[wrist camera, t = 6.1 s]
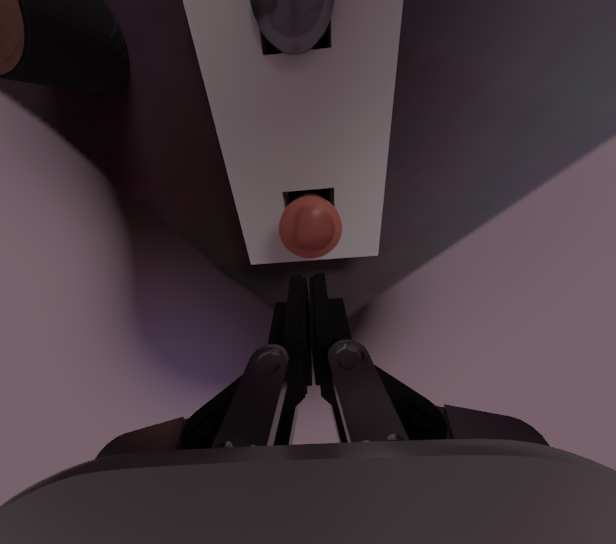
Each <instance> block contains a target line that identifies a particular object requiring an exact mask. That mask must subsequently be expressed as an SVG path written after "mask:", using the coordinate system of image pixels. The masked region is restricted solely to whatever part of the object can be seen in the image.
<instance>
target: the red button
mask: <svg viewBox="0 0 616 544" xmlns="http://www.w3.org/2000/svg"><path fill="white" fill-rule="evenodd" d="M341 234H342V222H341V219H340V216H339V213H338V211H337V210H336V208H335V207H334V206H333V205H332V204H331V203H330V202H329V201H327V200H326V199H324V198H323V197H321V196H320V195H317V194H314V193H306V194H303V195H301V196H299V197H298V198H296V199H295V200H294V201H292V202H291V203H290V204H289V205H288V206H287V207H286V208H285V210H284V211H283V213H282V216H281V219H280V222H279V235H280V238H281V241H282V243H283V244H284V246H285V247H286V248H287V249H288V250H289V251H290V252H291V253H293V254H295V255H297V256H299V257H302V258H318V257H321V256H324V255H326V254H328V253H329V252H331V251H332V250H333V249H334V248H335V247H336V245H337V244H338V242H339V240H340V238H341Z"/></svg>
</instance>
